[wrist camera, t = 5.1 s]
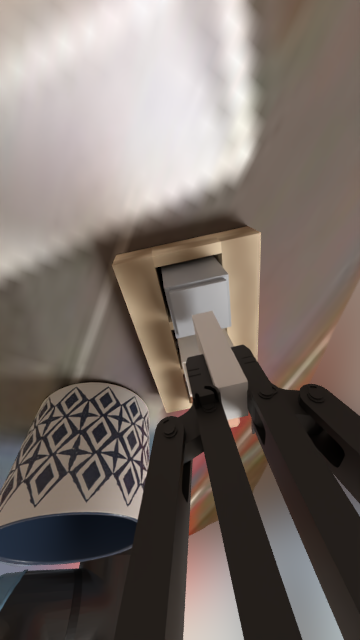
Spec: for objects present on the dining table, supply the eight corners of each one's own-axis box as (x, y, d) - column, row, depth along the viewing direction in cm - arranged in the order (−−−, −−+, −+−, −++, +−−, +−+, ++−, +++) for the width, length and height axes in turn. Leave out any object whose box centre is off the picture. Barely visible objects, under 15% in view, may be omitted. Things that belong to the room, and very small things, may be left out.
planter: (167, 397, 34) (178, 517, 22) (123, 448, 40) (112, 563, 28) (60, 364, 28) (-6, 506, 16) (28, 431, 34) (-37, 567, 22)
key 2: (171, 311, 23) (176, 341, 19) (161, 267, 20) (164, 290, 16) (217, 301, 23) (232, 328, 19) (213, 255, 20) (229, 276, 16)
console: (165, 395, 33) (166, 413, 31) (116, 255, 21) (111, 265, 19) (248, 377, 33) (256, 393, 31) (247, 226, 21) (260, 232, 19)
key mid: (184, 364, 26) (190, 400, 22) (176, 332, 23) (182, 365, 19) (224, 355, 26) (239, 389, 22) (221, 322, 23) (237, 353, 19)
